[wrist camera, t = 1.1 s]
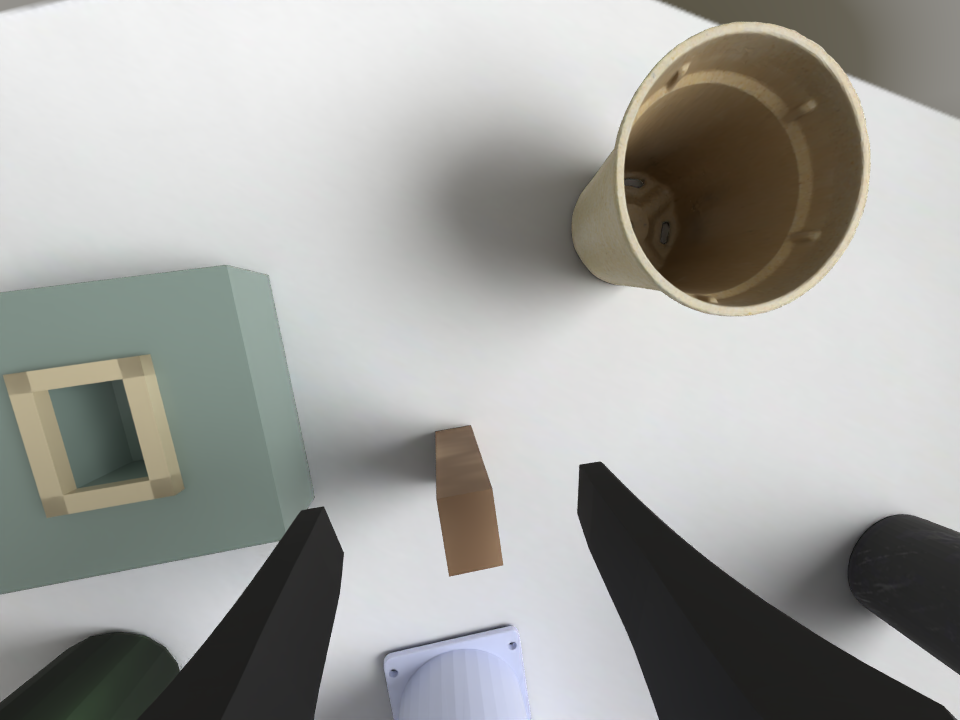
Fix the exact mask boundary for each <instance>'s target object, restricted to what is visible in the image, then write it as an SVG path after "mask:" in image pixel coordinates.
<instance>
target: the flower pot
mask: <svg viewBox="0 0 960 720" xmlns="http://www.w3.org/2000/svg"><path fill="white" fill-rule="evenodd" d="M870 164H871V163H870V143H869V137H868V133H867V129H866V119H865V118H864V113H863V109H862V106H861V105H860V100H859V97H858V95H857V93H856V92H855V89H854V88H853V87H852V84H851V82H850V80H849V78H848V76H847V75H846V73H844V71H843V70H842V68H841V67H840V66H839V65H838V63H836V61H835V60H834V59H833V58H832V57H831V56H829V55H828V54H827V53H826V52H825V50H824V49H823V48H822V47H821V46H819V45H818V44H816V43H815V42H814V41H812V40H809V39H807V38H805V36H801V35H800V34H799V33H797V32H796V31H794V30H791V29H787V28H784V27H782V26H778V25H774V24H768V23H760V22H733V23H728V24H722V25H720V26H716V27H712V28H709V29H707V30H704V31H703V32H700V33H698V34H696V35H694V36H692V37H690V38H688V39H687V40H685V41H684V42H682V43H680V44H678V45H677V46H676V47H675V48H674V49H673V50H671V51H670V52H669V53H668V54H666V55H665V56H664V57H663V58H662V59H661V60H660V61H659V62H658V63H657V64H656V65H655V67H654V68H653V69H652V70H651V71H650V73H649V74H648V75H647V76H646V78H645V79H644V81H643V82H642V83H641V85H640V86H639V88H638V89H637V91H636V92H635V94H634V96H633V98H632V100H631V102H630V104H629V106H628V108H627V110H626V112H625V114H624V117H623V120H622V122H621V125H620V128H619V131H618V134H617V138H616V143H615V148H614V150H613V151H612V152H611V154H610V155H609V157H608V158H607V159H606V161H605V162H604V163H603V165H602V166H601V168H600V169H599V170H598V172H597V173H596V174H595V176H594V177H593V179H592V180H591V181H590V182H589V184H588V185H587V186H586V187H585V189H584V190H583V191H582V193H581V195H580V196H579V198H578V201H577V203H576V205H575V208H574V211H573V216H572V239H573V244H574V247H575V250H576V252H577V254H578V255H579V257H580V258H581V260H582V262H583V263H584V264H585V266H586V267H587V268H588V269H589V271H590V272H591V273H592V274H593V275H595V276H596V277H597V278H599V279H601V280H603V281H605V282H608V283H611V284H615V285H625V286H631V287H639V288H646V289H652V290H658V291H661V292H663V293H664V294H666V295H667V296H669V297H670V298H671V299H673V300H675V301H677V302H678V303H680V304H682V305H684V306H686V307H689V308H691V309H694V310H697V311H700V312H703V313H707V314H713V315H719V316H747V315H755V314H760V313H765V312H768V311H771V310H774V309H777V308H780V307H782V306H783V305H786V304H788V303H790V302H792V301H794V300H795V299H797V298H798V297H800V296H802V295H803V294H804V293H805V292H807V291H808V290H810V289H811V288H813V287H814V286H815V285H816V284H817V283H819V282H820V281H821V280H822V279H823V277H824V276H825V275H826V274H827V273H828V272H829V271H830V270H831V269H832V268H833V266H834V265H835V264H836V262H837V261H838V260H839V258H840V257H841V256H842V255H843V252H844V251H845V250H846V248H847V247H848V245H849V243H850V241H851V240H852V238H853V236H854V234H855V232H856V228H857V227H858V225H859V221H860V219H861V217H862V214H863V212H864V207H865V203H866V199H867V193H868V187H869V178H870ZM625 179H637V180H640V181H642V182H643V186H641V187H640V188H636V187H633V186H628V185H624V180H625ZM663 222H668V223H669V226H670V231H669V234H668V237H667V242H666V243H665V244H663V243H661V242H660V239H661V232H662V226H663V225H662V223H663ZM631 224H632V225H631Z"/></svg>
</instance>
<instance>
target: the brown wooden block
mask: <svg viewBox="0 0 960 720" xmlns="http://www.w3.org/2000/svg"><path fill="white" fill-rule="evenodd" d="M435 440H436V499H437V505H438V511H439V517H440V524H441V530H442V536H443V542H444V548H445V554H446V560H447V566H448V572H449V577H450V576H454V575H459V574H464V573H469V572H473V571H478V570H483V569H488V568H492V567H497V566H502V565H503V560H502V553H501V546H500V539H499V532H498V525H497V518H496V511H495V504H494V497H493V490H492V486H491V483H490V480H489V478H488V475H487V472H486V469H485V466H484V463H483V460H482V457H481V454H480V451H479V448H478V445H477V442H476V439H475V436H474V433H473V430H472V427H471V425H470V426H464V427H458V428H453V429H447V430H441V431H435Z"/></svg>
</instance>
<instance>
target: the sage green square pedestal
mask: <svg viewBox="0 0 960 720" xmlns="http://www.w3.org/2000/svg"><path fill="white" fill-rule="evenodd" d="M314 498H315V496H314V492H313V487H312V482H311V477H310V472H309V468H308V463H307V458H306V453H305V448H304V444H303V439H302V434H301V429H300V424H299V420H298V415H297V410H296V405H295V400H294V396H293V391H292V386H291V381H290V376H289V372H288V367H287V362H286V357H285V352H284V348H283V343H282V338H281V333H280V328H279V324H278V319H277V314H276V309H275V304H274V300H273V295H272V290H271V285H270V280H269V276H268V275H266V274H262V273H258V272H254V271H250V270H245V269H241V268H237V267H233V266H229V265H222V266H214V267H206V268H198V269H190V270H181V271H173V272H165V273H157V274H149V275H140V276H132V277H124V278H116V279H108V280H99V281H91V282H83V283H75V284H67V285H58V286H50V287H42V288H34V289H26V290H17V291H9V292H1V293H0V594H6V593H11V592H16V591H21V590H26V589H32V588H37V587H42V586H47V585H52V584H58V583H63V582H68V581H73V580H78V579H84V578H89V577H94V576H99V575H104V574H110V573H115V572H120V571H125V570H130V569H136V568H141V567H146V566H151V565H157V564H162V563H167V562H172V561H177V560H183V559H188V558H193V557H198V556H203V555H209V554H214V553H219V552H224V551H229V550H235V549H240V548H245V547H250V546H255V545H261V544H266V543H271V542H276V541H280V540H281V538H282V537H283V536H284V534H285V533H286V531H287V530H288V528H289V527H290V525H291V524H292V522H293V521H294V519H295V518H296V517H297V515H298V514H299V513H300V511H301V510H306V509H307V508H308V507H309V505H310V504H311V502H312V501H313V499H314Z"/></svg>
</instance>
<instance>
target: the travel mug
mask: <svg viewBox="0 0 960 720" xmlns="http://www.w3.org/2000/svg"><path fill="white" fill-rule="evenodd" d="M848 579H849V584H850V587H851V590H852V592H853V594H854V596H855V597H856V598H857V600H858V601H859V602H860V603H861V604H862V605H863V606H865V607H866V608H867V609H869V610H870V611H871V612H873V613H874V614H875V615H877V616H878V617H879V618H881V619H882V620H884V621H885V622H886V623H888V624H889V625H891V626H892V627H893V628H895V629H896V630H898V631H899V632H900V633H902V634H903V635H905V636H906V637H907V638H909V639H910V640H912V641H913V642H914V643H916V644H917V645H919V646H920V647H921V648H923V649H924V650H926V651H927V652H928V653H930V654H931V655H933V656H934V657H935V658H937V659H938V660H940V661H941V662H942V663H944V664H945V665H947V666H948V667H949V668H951V669H952V670H954V671H955V672H956V673H958V674H959V675H960V533H959V532H957V531H954V530H951V529H949V528H946V527H944V526H941V525H938V524H936V523H933V522H930V521H928V520H925V519H922V518H919V517H916V516H911V515H895V516H891V517H888V518H885V519H883V520H881V521H879V522H877V523H876V524H875V525H873V526H872V527H871V528H869V529H868V530H867V531H866V532H865V533H864V534H863V536H862V537H861V538H860V540H859V541H858V543H857V544H856V546H855V548H854V550H853V552H852V555H851V558H850V562H849V568H848Z"/></svg>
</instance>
